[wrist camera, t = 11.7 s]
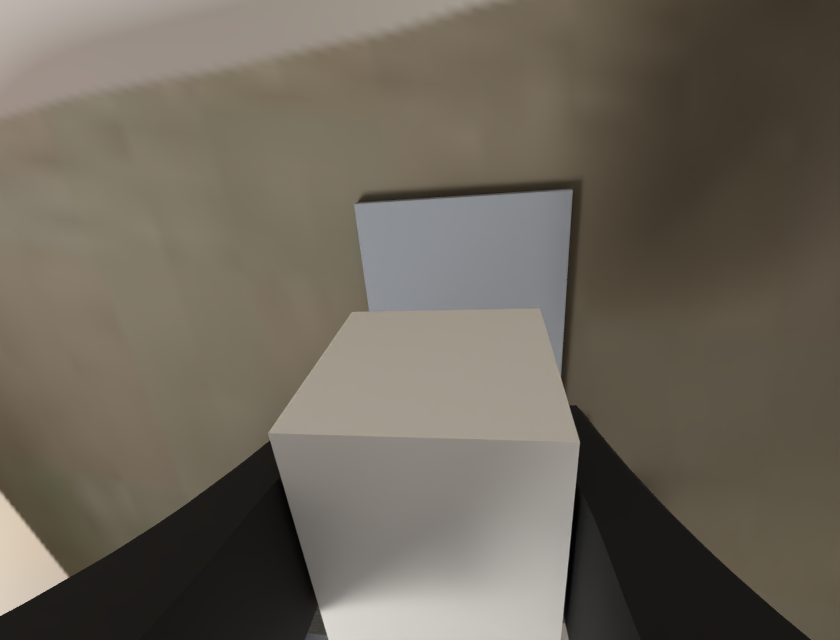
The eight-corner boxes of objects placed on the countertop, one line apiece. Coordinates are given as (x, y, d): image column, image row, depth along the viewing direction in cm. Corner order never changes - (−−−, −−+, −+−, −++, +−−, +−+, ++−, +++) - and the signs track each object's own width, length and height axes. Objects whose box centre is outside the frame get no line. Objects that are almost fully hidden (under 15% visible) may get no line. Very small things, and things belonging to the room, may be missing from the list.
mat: (386, 412, 20) (384, 417, 20) (356, 202, 16) (354, 204, 16) (556, 415, 19) (558, 420, 19) (570, 188, 15) (573, 190, 15)
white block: (392, 556, 13) (354, 730, 9) (352, 311, 9) (268, 433, 6) (529, 567, 12) (548, 758, 8) (539, 308, 9) (580, 441, 5)
